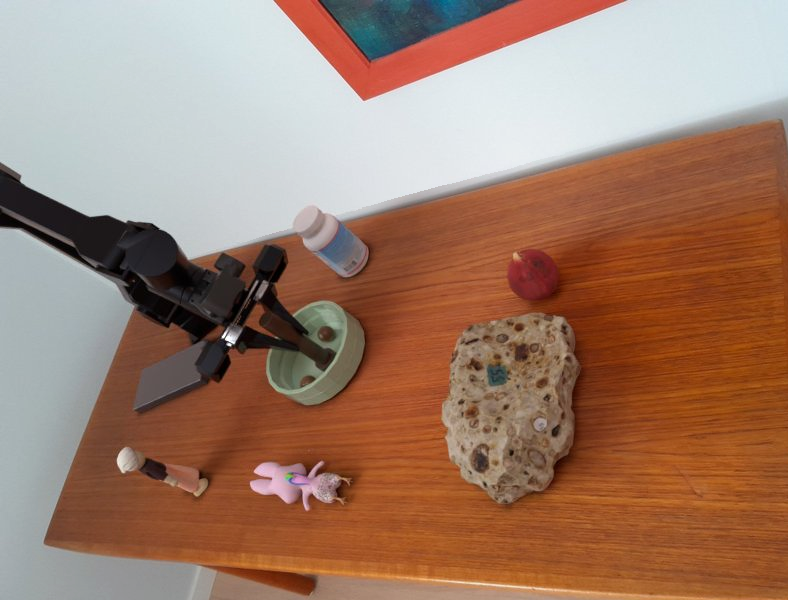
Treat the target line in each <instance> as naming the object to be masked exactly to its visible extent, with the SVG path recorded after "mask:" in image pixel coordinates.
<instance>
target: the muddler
mask: <svg viewBox="0 0 788 600" xmlns="http://www.w3.org/2000/svg"><path fill="white" fill-rule="evenodd" d="M258 325H259V327H261V328H262V329H264V330H265V331H267V332H269V333H270V334H272V335H273V336H274V337H278V338H279V339H281V340H282V341H285V342H288V343H290V344H292V345H294V346H296V347H298V348H299V349H300V351H299V352H301V353H302V354H304V355H305V356H307V357H308V358H310V359H311V360H313V361H314V362H315V366H316V367H317V368H318V369H320V370H321V371H323V372H325V371H326V369H327V368H328V367H329V365H330V364H331V363H332V362H333V360H334V358H335V356H336V354H337V353H336V352H335V351H333V350H332V349H331V348H325V349H324V348H323V347H321V346H320V345H318V344H317V343H315V342H314V341H313V340H311V339H310V338H308V337H307V336H305V335H304V334H302V333H301V332H299V331H298V330H297V329H295V328H294V327H292V326H291V325H289V324H288V323H286V322H285V321H284V320H282V319H281V318H279V317H278V316H276V315H275V314H273V313H272V312H270V311H267V312H265V311H264V312H263V313H262V314H261V315H260V317H259V319H258Z"/></svg>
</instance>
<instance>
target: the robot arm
mask: <svg viewBox="0 0 788 600" xmlns="http://www.w3.org/2000/svg"><path fill="white" fill-rule="evenodd" d="M21 179H22V174H21V173H18V172H17V171H15V170H14V169H12V168H10V167H9V166H8V165H6V164H5V163H3V162H1V161H0V229H4V230H5V229H6V230H18V231H21V232H23V233H24V234H27V235H28V236H30V237H32V238H33V239H35V240H37V241H39V242H40V243H42V244H45V245H46V246H47V247H49V248H51V249H53V250H55V251H57V252H58V253H60V254H62V255H64V256H65V257H68V258H69V259H71V260H72V261H75V262H76V263H78V264H80V265H81V266H83V267H85V268H87V269H88V270H90V271H92V272H94V273H95V274H97V275H100V276H101V277H103V278H104V279H106V280H108V281H110V282H112V283H113V284H115V285H116V288H117V289H118V291H119V292H120V295H121V296H122V297H123V299H124V301H126V302H127V303H128V304H130V305H132V306H134V307H135V310H134V311H135V312H136V313H137V314H139V315H140V316H142V318H144V319H145V320H148V321H149V322H151V323H154V324H155V325H157V326H161V327H163V328H166V329H169V328H170V327H171V324H173V325H174V326H177V327H178V328H180V329H182V331H185V332H186V333H188V336H189V341H190V344H191V345H192V346H193V345H195V344H197V343H199V342H200V340H201V339H203V338H204V337H205V336H206V335H207V334H208V333H210V332H211V330H212V329H214V328H215V327H216V326H220V327H222V328H223V330H222V332H221V334H220V336H219V337H218V339H217V341H216V342H214V341H212V342H210V341H208V342H207V344H206V345H205V347H204V349H203V350H202V352H201V354H200V355H199V357H198V359H197V361H196V362H195V364H194V365H195V368H196V371H197V372H199V373H200V374H201V375H203V376H205V377H206V378H208V380H211V381H212V382H215V383H216V384H220V383H221V382H222V380H223V379H224V377H225V375H226V374H227V372H228V370H229V368H230V366H231V365H232V361H231V357H230V354H229V352H230V350H236V351H237V352H238V353H239V354H241V355H244V354H245V353H246V351H247V350H270V349H274V350H282V351H291V352H299V351H300V349H299V348H298V347H296V346H294V345H292V344H290V343H288V342H285V341H282V340H280V339H277V338H275V336H271V335H268V334H266V333H263V332H261V331H259V330H257V329H254V328H253V327H250V326H248V325H246V323H247V321H248V320H249V317H250V316H251V315H252V312H253V311H254V309H255V307H256V305H258V306H261V307H262V309H263V312H264V313H265V312H267V311H270V312H272V313H273V314H275V315H276V316H278V317H279V318H281V319H282V320H284V321H285V322H286V323H288V324H289V325H291V326H292V327H294V328H295V329H297V330H298V331H299V332H301V333H303V334H305V335H308V334H309V331H308V330H307V329H306V328H305V327H303V326H302V325H301V324H300V323H299V322H298V321H297V320H296V319H295V318H294V317H293V316H292V315H293V314H292V313H290V312H289V311H288V309H286V307H285V306H284V305H283V304H282V303H281V301H280V300H279V299H278V291H277V287H276V284H277V283H279V281H280V280H281V278H282V276H283V274H284V272H285V270H286V269H287V267H288V264H289V258H288V254H287V253H288V252H287V249H286V248H283V247H281V246H280V245H278V244H275V243H266V244H264V245H263V247H262V248H261V250H260V251H259V253H258V256H257V257H256V259H255V260H254V262H253V264H252V265H251V268H252V271H253V273H254V275H255V276H254V277H253V279H252V281H251V282H250V284H249V286H248V288H246V287H247V281H245V280H244V279H241V278H240V277H241V276H242V274H243V272H244V270H245V269H246V268H247V265H246V264H245V263H244V262H243V261H241V260H239V259H237V258H235V257H234V256H232V255H229V254H227V253H225V252H223V251H222V252H221V253H220V254H219V256H218V258H217V259H216V261H215V262H214V264H213V267H214V268H215V269H216V270H217V272H215V271H213V270H211V269H208V268H205V267H203V266H201V265H200V264H197V263H195V262H194V261H192V260H189V259H188V257H187V255H186V253H185V252H184V250H183V249H182V247H181V246H180V245H179V244H178V242H177V241H176V239H175V238H174V237H173V235H171V234H170V233H169V232H167V231H166V230H163V229H161V228H160V227H158V226H157V225H156V224H154V223H153V222H146V221H134V220H129V219H128V220H126V222H125V221H123V220H121V219H118V218H116V217H113V216H111V215H110V214H101V215H93V216H89V215H87V214H85V213H82V212H81V211H79V210H76V209H75V208H72V207H70V206H68V205H66V204H64V203H62V202H60V201H57V200H55V199H54V198H52V197H49V196H47V195H45V194H43V193H41V192H39V191H37V190H35V189H33V188H31V187H29V186H27V185H26V184H24V183H23V182H21ZM213 342H214V343H213Z"/></svg>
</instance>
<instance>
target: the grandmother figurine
mask: <svg viewBox="0 0 788 600" xmlns="http://www.w3.org/2000/svg"><path fill="white" fill-rule="evenodd" d="M116 463H117V467H118V469H119V470H120V472H121V473H122V474H127V473H128V472H133V471H139V472H140V473H142V474H143V475H145V476H147V477H148V478H150V479H152V480H155V481H160V482H163V483H166V484H167V485H170V486H171V487H174V488H175V487H177V488H178V487H179V488H180V489H183V490H184V491H186V492H188V493H193V494H192V495H194V496H195V497H197V498H198V497H200V496H201V495H202V494H203V493H204V492H205V491H206V490H207V488H208V486H209V480H208V479H207V478H206V477H205V478H204V477H202V478H200V471H199V470H198V469H197V468H195V467H194V468H193V467H190V466H186V465H182V464H173V463H165V462H161V461H157V460H154V459H152V458H149V457H146V456H145V454H144V453H143V452H141V451H140V450H133V447H130V446H125V447H124V448H122V449H121V451H120V452H119V453H118V455H117V458H116Z"/></svg>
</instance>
